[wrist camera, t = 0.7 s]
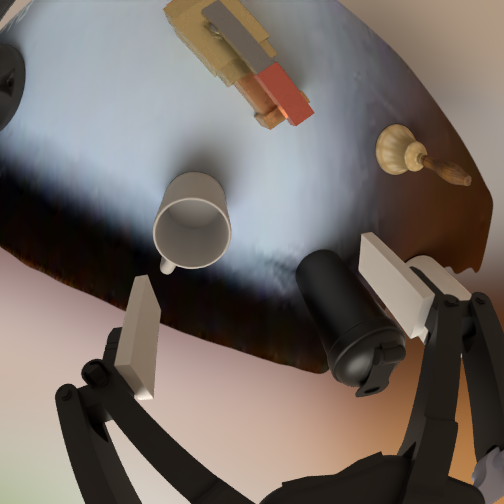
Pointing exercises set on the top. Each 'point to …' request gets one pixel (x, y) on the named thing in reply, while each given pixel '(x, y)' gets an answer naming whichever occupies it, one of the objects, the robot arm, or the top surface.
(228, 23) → the lever
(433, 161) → the hand bell
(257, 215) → the top surface
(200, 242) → the mug
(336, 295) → the water bottle
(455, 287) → the white lidded jar
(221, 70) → the valve
